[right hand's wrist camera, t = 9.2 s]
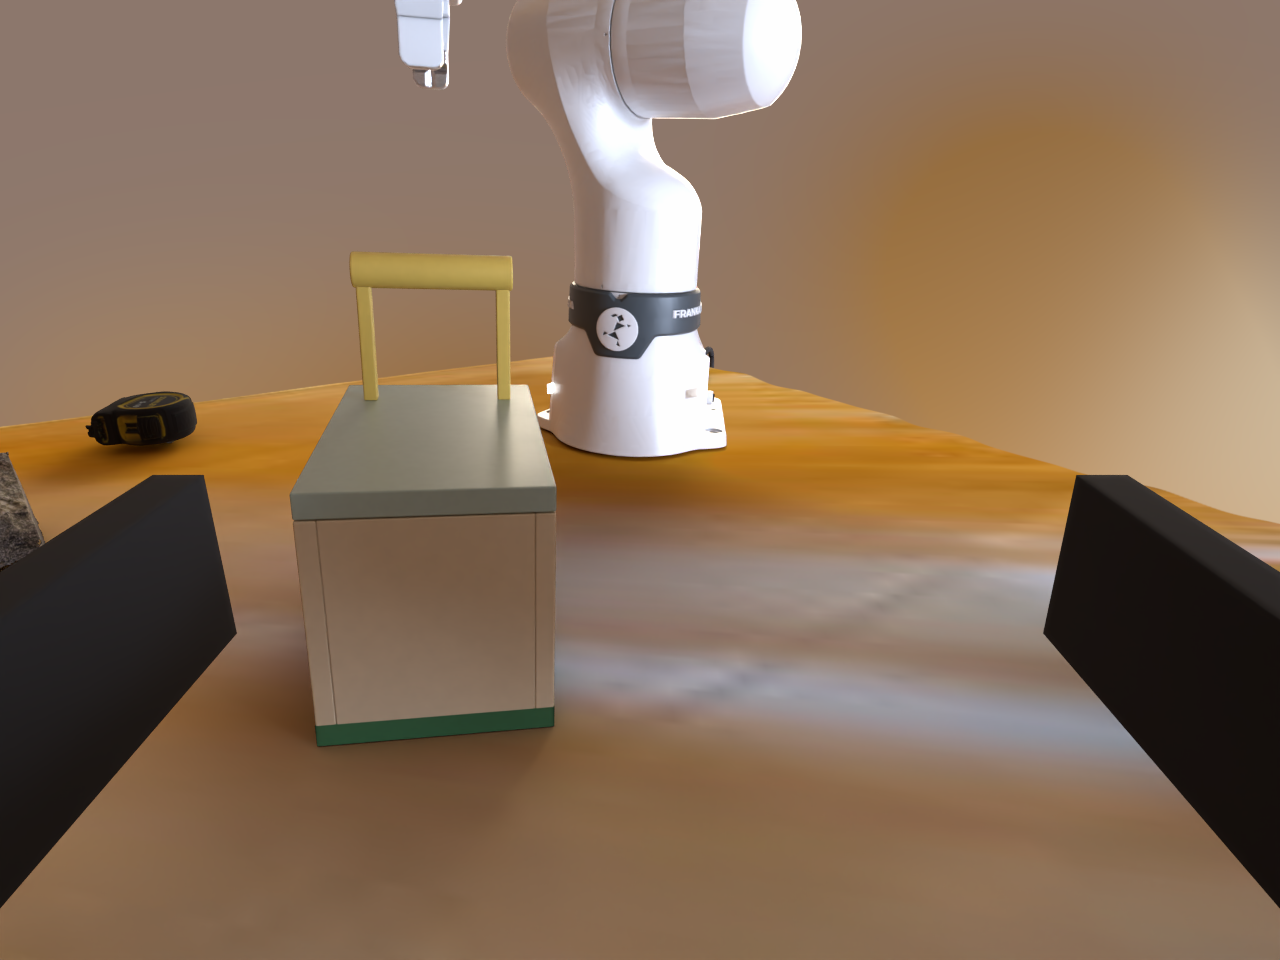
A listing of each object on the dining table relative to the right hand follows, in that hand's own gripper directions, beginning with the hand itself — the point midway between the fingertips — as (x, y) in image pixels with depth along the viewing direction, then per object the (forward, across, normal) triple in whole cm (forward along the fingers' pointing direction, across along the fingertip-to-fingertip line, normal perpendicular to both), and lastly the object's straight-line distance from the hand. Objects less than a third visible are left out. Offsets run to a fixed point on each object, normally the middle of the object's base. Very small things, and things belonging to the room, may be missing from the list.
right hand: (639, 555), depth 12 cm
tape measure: (+54, +42, +17) cm, 71 cm away
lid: (+26, +10, +7) cm, 29 cm away
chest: (+26, +10, +18) cm, 33 cm away
